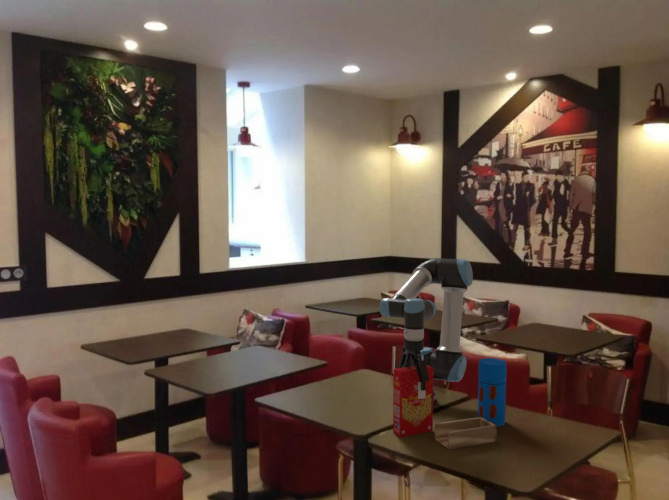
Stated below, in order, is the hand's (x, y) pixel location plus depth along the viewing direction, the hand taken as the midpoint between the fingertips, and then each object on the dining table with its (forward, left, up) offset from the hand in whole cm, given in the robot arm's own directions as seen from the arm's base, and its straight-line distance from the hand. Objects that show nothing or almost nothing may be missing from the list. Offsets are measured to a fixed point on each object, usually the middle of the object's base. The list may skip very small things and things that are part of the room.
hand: (413, 393), depth 235 cm
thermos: (+2, +35, -15) cm, 38 cm away
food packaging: (0, 0, -15) cm, 15 cm away
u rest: (+15, +14, -15) cm, 26 cm away
